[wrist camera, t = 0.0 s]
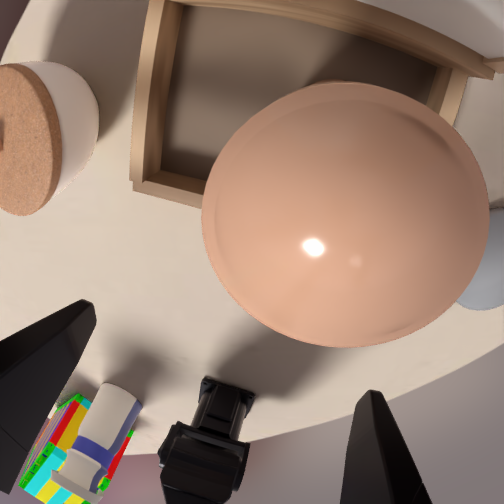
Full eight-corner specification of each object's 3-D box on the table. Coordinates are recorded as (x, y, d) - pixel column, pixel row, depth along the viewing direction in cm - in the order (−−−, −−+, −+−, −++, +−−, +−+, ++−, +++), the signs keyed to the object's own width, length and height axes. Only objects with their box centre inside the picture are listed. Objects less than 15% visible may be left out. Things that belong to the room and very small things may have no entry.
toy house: (99, 438, 67) (62, 511, 47) (57, 408, 64) (15, 481, 43) (133, 431, 54) (87, 530, 34) (78, 392, 51) (21, 492, 31)
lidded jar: (21, 135, 23) (-54, 173, 16) (58, 33, 18) (-36, 47, 10) (93, 198, 25) (20, 257, 18) (147, 93, 20) (52, 122, 12)
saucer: (498, 311, 22) (502, 319, 22) (425, 288, 23) (427, 296, 22) (549, 230, 17) (555, 236, 17) (477, 189, 18) (483, 195, 17)
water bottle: (151, 417, 47) (96, 540, 27) (110, 403, 49) (52, 514, 28) (137, 392, 43) (69, 531, 22) (93, 377, 44) (23, 500, 24)
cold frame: (384, 245, 22) (396, 299, 17) (149, 177, 23) (104, 213, 18) (453, 60, 14) (497, 62, 9) (174, -8, 15) (124, -24, 10)
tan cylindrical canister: (369, 189, 20) (407, 366, 8) (271, 159, 20) (189, 307, 9) (401, 95, 16) (531, 162, 5) (295, 61, 16) (228, 46, 5)
